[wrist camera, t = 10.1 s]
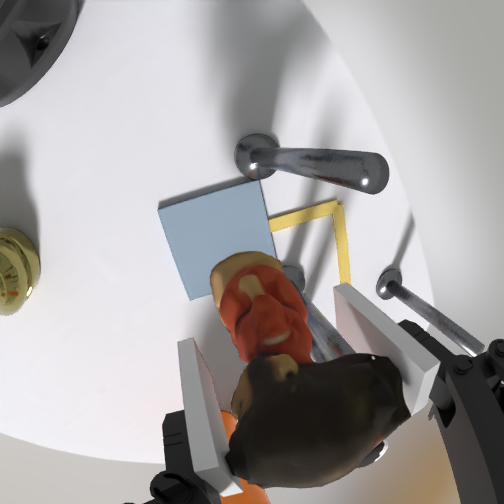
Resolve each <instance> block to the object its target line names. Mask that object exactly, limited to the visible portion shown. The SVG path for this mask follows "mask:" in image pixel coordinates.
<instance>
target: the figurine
mask: <svg viewBox="0 0 504 504" xmlns="http://www.w3.org/2000/svg"><path fill="white" fill-rule="evenodd" d="M210 286H211V290H212V293H213V297H214V302H215V305H216V307H217V309H218V311H219V316H220V318H221V321H222V323H223V325H224V326H225V327H226V328H227V330H228V331H229V332H230V333H231V335H232V342H233V343H234V345H235V346H236V347H237V348H238V351H239V357H240V358H241V359H242V360H243V361H245V362H246V363H248V365H247V367H246V368H245V370H244V371H243V373H242V375H241V377H240V380H239V384H238V386H237V388H236V390H235V391H234V394H233V398H232V401H231V407H232V412H233V415H234V416H236V417H237V419H238V423H237V424H236V426H235V431H234V432H233V433H232V435H231V437H230V441H229V444H228V446H229V449H230V450H229V452H228V453H227V455H226V456H225V458H226V460H227V463H228V465H229V468H230V470H231V473H232V475H234V476H236V477H239V478H241V479H244V480H247V483H248V484H252V485H257V486H259V487H260V488H261V489H265V488H270V487H287V488H312V487H322V486H324V485H326V484H329V483H331V482H334V481H336V480H338V479H340V478H342V477H344V476H346V475H347V474H349V473H350V472H352V471H353V470H354V469H356V468H357V467H358V466H359V464H360V463H361V462H362V460H363V459H364V458H365V457H366V455H368V454H369V453H370V452H371V451H372V450H373V449H374V448H375V447H376V446H377V445H378V444H379V443H381V442H382V441H383V440H384V439H386V438H387V437H388V436H389V435H390V434H391V433H392V432H393V431H394V430H396V429H397V428H398V426H400V425H401V424H402V423H404V422H405V421H407V420H408V419H409V418H410V417H411V413H410V411H409V409H408V407H407V405H406V402H405V399H404V394H403V383H402V378H401V375H400V372H399V370H398V368H397V367H396V366H395V365H394V364H393V363H392V362H391V360H390V359H389V357H386V356H378V355H374V354H369V353H353V354H348V355H345V356H342V357H339V358H336V359H333V360H330V361H328V362H323V363H317V362H314V361H313V360H312V358H311V356H310V353H311V350H312V338H313V335H312V333H311V330H310V329H309V327H308V326H307V324H306V323H307V317H308V311H307V308H306V307H305V305H304V303H303V300H302V298H301V296H300V294H299V293H298V291H297V290H296V289H295V287H294V286H293V284H292V283H291V281H290V280H289V279H288V278H287V277H286V275H285V273H284V272H283V265H282V263H281V261H280V260H278V259H276V258H274V257H272V256H269V255H267V254H265V253H263V252H261V251H246V252H238V253H234V254H233V255H231V256H229V257H227V258H226V259H224V260H223V261H220V262H219V263H218V264H216V265H215V266H214V267H213V269H212V270H211V274H210ZM372 356H373V357H374V358H375V359H372Z"/></svg>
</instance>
